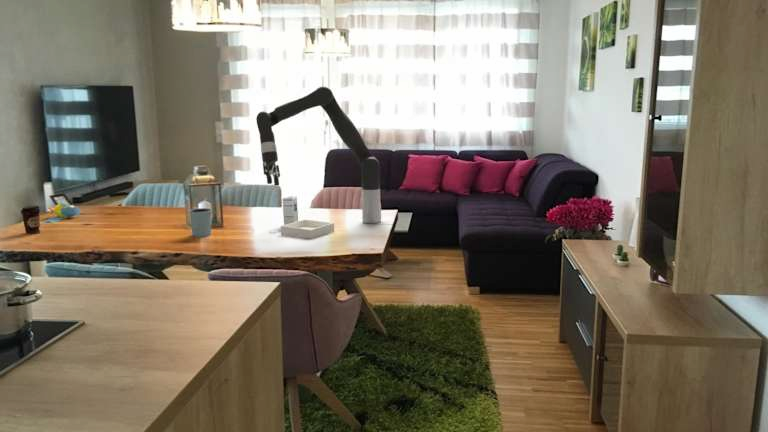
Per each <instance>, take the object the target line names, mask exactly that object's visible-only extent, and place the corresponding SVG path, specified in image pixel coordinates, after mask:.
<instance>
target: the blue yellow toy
mask: <svg viewBox="0 0 768 432" xmlns="http://www.w3.org/2000/svg"><path fill="white" fill-rule="evenodd" d="M48 210H49V211H50V213H51V214H55V215H56V216H53V217H51V218H47V219H45V220H44V221H42V222H41V223H44V224H45V223H46V224H49V223H51V224H52V223H53V224H54V223H56V222H58V221H62V220H65V219H68V218H72V217H75V216H78V215H81V214H84V212H82V211H80V207H78V206H75V205H73V204H70V203H67V202H59V204H56V205H53V207H52V206H49V207H48Z"/></svg>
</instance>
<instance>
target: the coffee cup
mask: <svg viewBox="0 0 768 432" xmlns="http://www.w3.org/2000/svg"><path fill="white" fill-rule="evenodd" d="M40 212H41V209H40V206H38V205H29V206H28V205H27V206H24V207H22V209H21V210H20V214H21V217H22V221H23V227H24V231H25V234H27V235H35V234H38V233H41V230H40V227H41V216H40Z"/></svg>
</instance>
